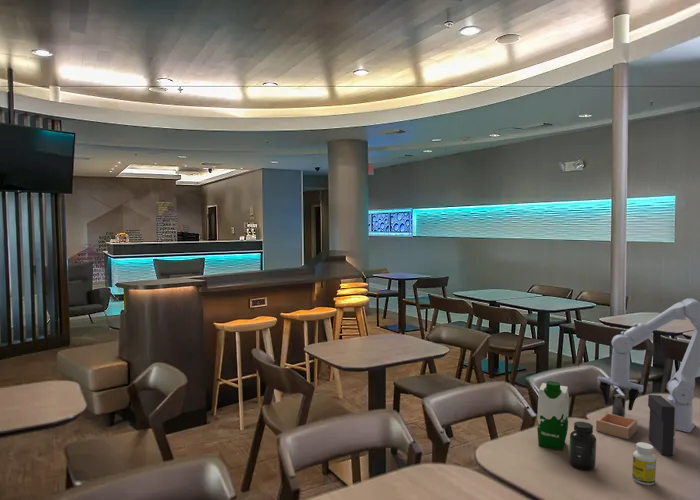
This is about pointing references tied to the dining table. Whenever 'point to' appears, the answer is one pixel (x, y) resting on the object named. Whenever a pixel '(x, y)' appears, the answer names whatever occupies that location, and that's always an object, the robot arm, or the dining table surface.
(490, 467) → the dining table surface
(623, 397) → the pepper mill
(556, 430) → the milk carton
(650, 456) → the supplement bottle
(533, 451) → the dining table surface
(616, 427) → the tray
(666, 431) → the black box
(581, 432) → the supplement bottle
